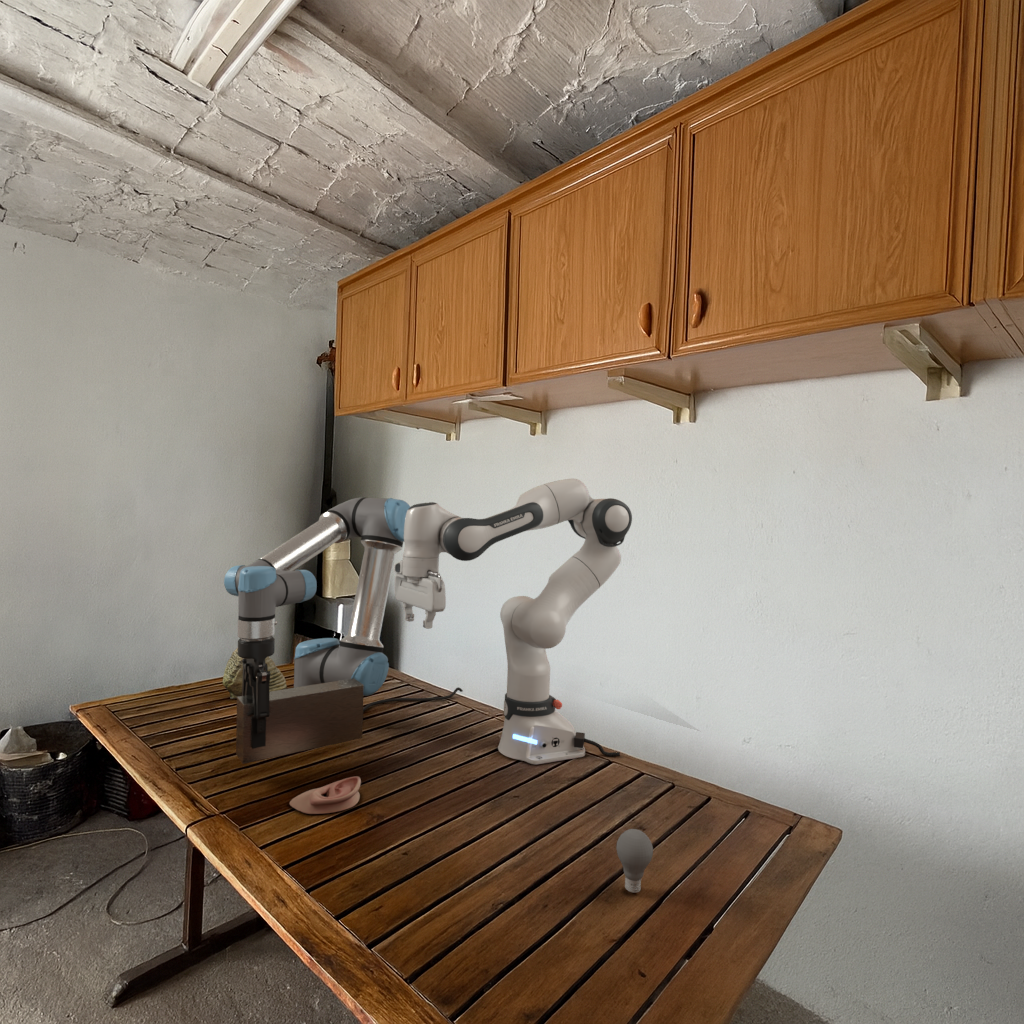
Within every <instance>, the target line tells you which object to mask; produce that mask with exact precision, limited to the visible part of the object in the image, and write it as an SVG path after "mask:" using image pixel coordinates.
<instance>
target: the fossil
mask: <svg viewBox="0 0 1024 1024" xmlns="http://www.w3.org/2000/svg"><path fill="white" fill-rule="evenodd" d="M243 659H244V658H241V657H239V656H238V647H237V648H236V649H235V650H233V651H232V653H231V656H230V657H229V659H228V660H227V663H226V666H225V668H224V671H223V675H222V676H223V677H222V685H223V687H224V688H225V690H226V691H228V693H229V698H230V699H237V697H239V696H242V679H243V663H242V660H243ZM265 663H266V664H267V666H268V671H270V673H271V675H270V682H269V692H270V691H277V690H283V689H287V687H288V686H287V680H286V678H285V676H284V674H283V673H282V672H281V669H279V668H278V667H277V665H276V663H275V662H274V660H273V659H272V658H271V657H270V656H269V657H267V658H266V659H265Z"/></svg>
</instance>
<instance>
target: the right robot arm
mask: <svg viewBox="0 0 1024 1024" xmlns="http://www.w3.org/2000/svg"><path fill="white" fill-rule="evenodd" d="M565 522H568V523H569V525H570V528H571V530H572V531H573V532H574V533H575V535H577V536H578V537H580V538H582V539H584V541H583V544H582V546H581V547H580V549H579V550H578V551H576V552H575V553H574V554H573V555H571V556H570V558H568V559H567V560H566V561H565V562H563V563H562V564H561V566H559V567H558V568H557V569H556V570H555V571H553V572H552V573H551V574H550V575H549V577H548V579H547V580H548V581H547V583H546V584H545V587H544V588H543V589H542V591H541V592H540V593H539V595H537V596H536V597H535V598H533V597H530V596H527V595H517V596H512V597H510V598H508V599H507V600H505V602H504V603H503V604H502V606H501V608H500V612H499V613H500V615H499V617H500V620H501V624H502V627H503V628H502V629H503V635H504V645H505V652H506V653H505V654H506V662H507V670H506V671H507V675H506V693H505V694H504V701H503V717H504V720H503V726H502V732H501V736H500V739H499V743H498V746H497V750H498V752H499V753H500V754H501V755H503V756H505V757H507V758H510V759H513V760H518V761H524V762H526V763H528V764H531V765H543V764H548V763H553V762H560V761H565V760H567V761H568V760H572V759H577V758H583V757H585V755H586V748H585V743H586V744H589V745H592V746H594V747H595V748H597V749H598V750H599V752H600V754H601V755H603V756H605V757H620V756H621V752H620V751H613V752H612V751H611V752H610V751H606V750H605V749H604V748H603V747H602V745H601V744H600V743H598V742H596V741H594V740H591V739H587V738H586V733H585V732H579V731H576V729H575V727H574V725H573V724H572V722H571V721H569V720H568V719H567V718H566V717H565V716H564V715H562V713H560V712H559V711H558V710H561V709H562V708H563V703H562V702H561V701H560V700H559V699H557V698H556V697H554V696H552V695H551V694H550V689H551V688H550V687H551V663H550V661H549V659H548V654H547V650H546V649H553V648H555V647H556V646H558V645H559V644H560V643H561V642H562V640H564V638H565V634H566V630H567V625H568V624H569V622H570V620H571V619H572V617H573V616H574V615H575V613H576V612H577V610H578V609H579V608H580V607H581V606H582V605H583V604H584V603H585V602H586V601H587V600H588V599H589V598H591V597H592V595H593V594H595V593H596V592H597V591H598V590H599V589H600V588H601V587H602V586H603V585H604V584H605V583H606V582H607V581H608V580H609V579H610V578H611V576H612V575H613V574H614V573H615V572H616V570H617V568H618V567H619V566H620V564H621V561H622V556H621V553H620V550H619V548H618V546H620V545H622V544H623V542H624V541H625V538H626V535H627V534H628V532H629V531H630V529H631V526H632V522H633V515H632V511H631V509H630V507H629V505H627V504H626V503H625V502H624V501H621V500H620V499H617V498H592V497H591V495H590V493H589V490H588V488H587V486H586V485H585V483H584V482H583V481H582V480H580V479H578V478H565V479H559V480H554V481H550V482H547V483H543V484H540V485H538V486H535V487H533V488H530V489H528V490H527V491H525V492H523V493H522V494H520V495H519V497H518V498H517V501H516V504H515V506H513V507H511V508H510V509H507V510H504V511H501V512H499V513H496V514H493V515H491V516H488V517H485V518H472V517H461V516H459V515H457V514H454V513H452V512H450V511H448V510H447V509H445V508H444V507H442V506H441V505H439V503H438V502H433V501H431V502H421V503H416V504H413V505H411V506H410V508H409V509H408V510H407V513H406V517H405V524H404V542H403V543H404V550H403V553H402V560H400V561H398V562H396V563H394V564H393V572H394V573H395V575H394V597H395V600H396V601H398V602H401V603H402V608H403V610H404V620H405V621H406V622H408V623H409V622H414V621H415V614H414V613H413V612H414V611H413V607H415V608H419V609H421V610H425V612H424V615H425V618H424V619H423V621H422V627H423V628H424V629H427V630H429V629H432V628H433V622H434V620H435V617H436V615H437V613H442V612H444V611H445V609H446V606H447V601H446V600H447V599H446V597H447V595H446V585H445V581H444V580H443V577H442V576H441V573H440V572H439V568H440V567H439V566H440V554H441V553H446V554H448V555H450V556H451V557H453V558H454V559H456V560H458V561H462V562H469V561H473V560H475V559H477V558H479V557H480V556H482V555H483V554H484V553H485V552H486V551H487V550H488V549H489V548H490V547H491V546H493V545H494V544H496V543H499V542H501V541H503V540H506V539H508V538H512V537H513V536H516V535H518V534H521V533H525V532H529V531H536V530H543V529H546V528H550V527H552V526H555V525H558V524H561V523H565ZM616 752H617V753H616Z"/></svg>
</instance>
